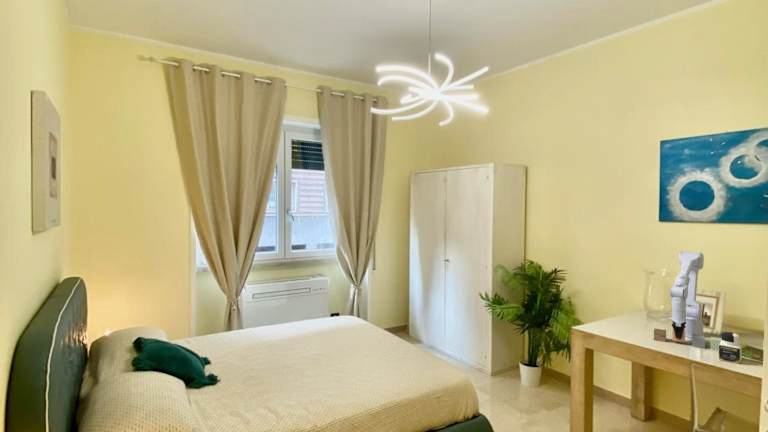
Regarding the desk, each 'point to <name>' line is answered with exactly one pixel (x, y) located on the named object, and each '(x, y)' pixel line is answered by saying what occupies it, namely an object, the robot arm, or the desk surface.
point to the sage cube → (715, 343)
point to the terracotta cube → (679, 339)
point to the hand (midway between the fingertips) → (678, 337)
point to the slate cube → (698, 341)
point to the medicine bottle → (730, 348)
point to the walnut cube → (660, 335)
